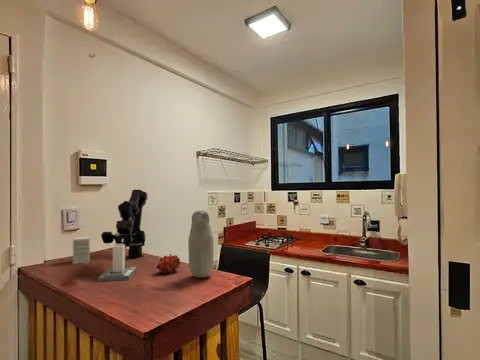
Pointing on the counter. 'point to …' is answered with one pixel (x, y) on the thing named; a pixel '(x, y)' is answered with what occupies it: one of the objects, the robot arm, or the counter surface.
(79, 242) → the grey ridged block
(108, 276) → the docking station
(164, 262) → the dragon fruit
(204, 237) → the grey bottle
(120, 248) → the cream tall block
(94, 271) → the counter surface
